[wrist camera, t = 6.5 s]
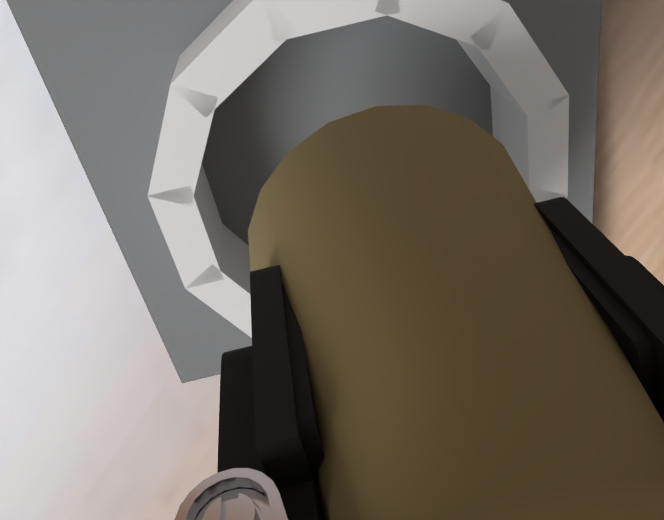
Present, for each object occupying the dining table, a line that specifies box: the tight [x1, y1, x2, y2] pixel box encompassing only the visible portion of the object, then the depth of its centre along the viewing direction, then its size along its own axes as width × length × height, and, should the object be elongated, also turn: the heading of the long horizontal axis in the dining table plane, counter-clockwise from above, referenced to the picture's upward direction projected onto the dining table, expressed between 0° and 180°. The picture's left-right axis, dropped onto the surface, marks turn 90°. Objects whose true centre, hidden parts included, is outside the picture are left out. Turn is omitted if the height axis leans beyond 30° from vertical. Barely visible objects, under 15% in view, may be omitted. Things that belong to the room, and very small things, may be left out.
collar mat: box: [7, 0, 601, 383], centre depth 16 cm, size 14×13×4 cm
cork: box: [248, 105, 664, 520], centre depth 8 cm, size 6×6×11 cm
